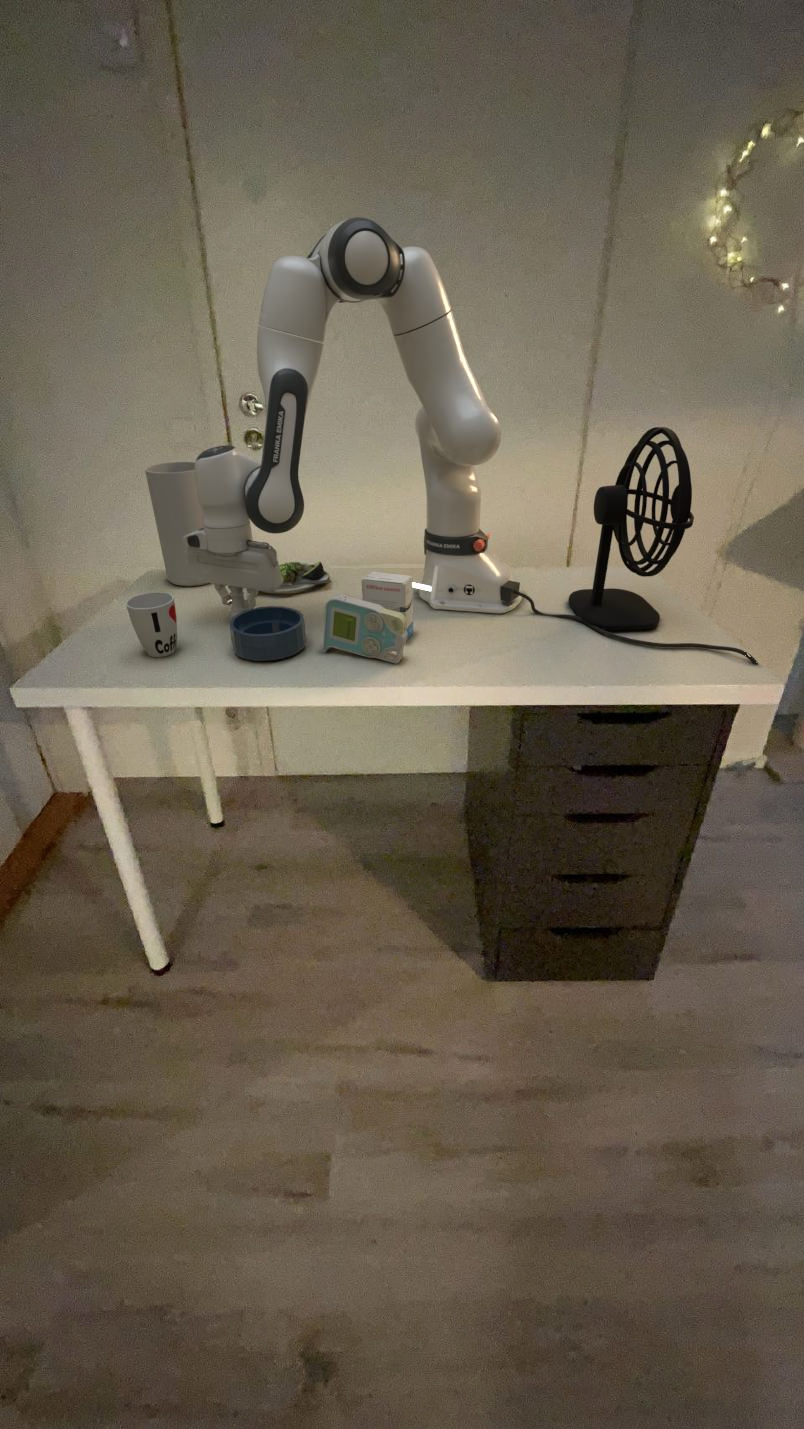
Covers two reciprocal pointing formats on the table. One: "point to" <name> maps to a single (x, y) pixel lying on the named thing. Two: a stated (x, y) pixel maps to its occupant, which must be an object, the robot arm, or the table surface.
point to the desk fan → (636, 536)
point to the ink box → (390, 594)
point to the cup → (154, 622)
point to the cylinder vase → (175, 514)
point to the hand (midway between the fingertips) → (239, 605)
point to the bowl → (268, 633)
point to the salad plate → (301, 578)
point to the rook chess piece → (237, 601)
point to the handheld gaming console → (364, 628)
